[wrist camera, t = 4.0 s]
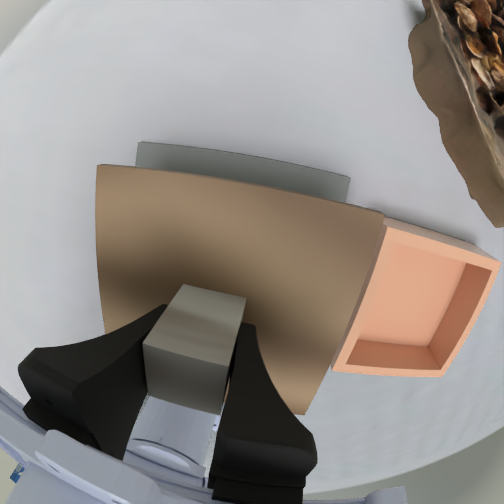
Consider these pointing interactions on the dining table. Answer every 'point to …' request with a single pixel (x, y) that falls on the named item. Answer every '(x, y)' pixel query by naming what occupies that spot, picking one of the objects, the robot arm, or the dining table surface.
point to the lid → (228, 277)
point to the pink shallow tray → (415, 303)
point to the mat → (243, 169)
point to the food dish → (466, 90)
